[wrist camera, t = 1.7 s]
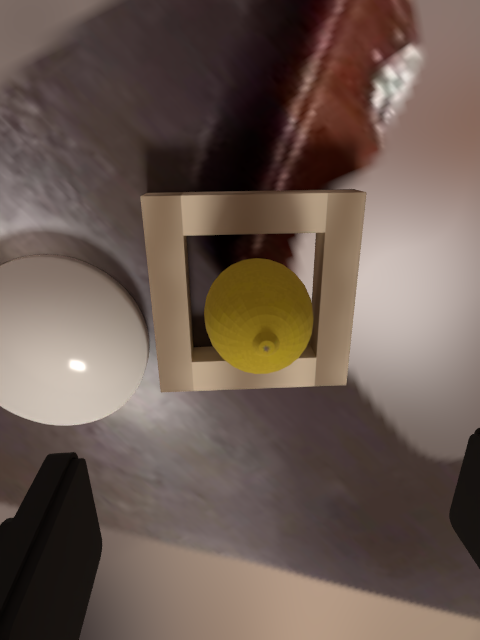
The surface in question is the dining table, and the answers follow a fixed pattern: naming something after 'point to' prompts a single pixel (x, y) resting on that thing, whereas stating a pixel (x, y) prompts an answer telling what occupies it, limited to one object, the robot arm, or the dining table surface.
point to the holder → (253, 218)
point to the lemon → (258, 316)
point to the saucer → (67, 341)
